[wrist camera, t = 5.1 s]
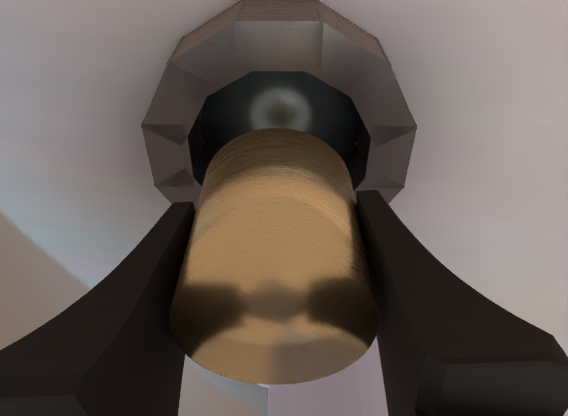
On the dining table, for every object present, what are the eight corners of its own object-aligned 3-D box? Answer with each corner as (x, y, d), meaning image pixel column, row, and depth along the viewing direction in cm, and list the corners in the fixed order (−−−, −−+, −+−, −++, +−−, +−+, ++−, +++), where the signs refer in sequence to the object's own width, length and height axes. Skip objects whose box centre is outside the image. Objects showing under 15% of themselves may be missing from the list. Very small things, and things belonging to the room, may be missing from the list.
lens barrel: (315, 242, 23) (317, 279, 21) (129, 160, 20) (111, 195, 18) (450, 85, 18) (472, 115, 15) (224, -62, 14) (214, -49, 12)
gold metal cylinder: (301, 264, 17) (306, 401, 13) (181, 213, 15) (140, 350, 11) (382, 171, 14) (423, 307, 10) (245, 98, 13) (224, 222, 8)
